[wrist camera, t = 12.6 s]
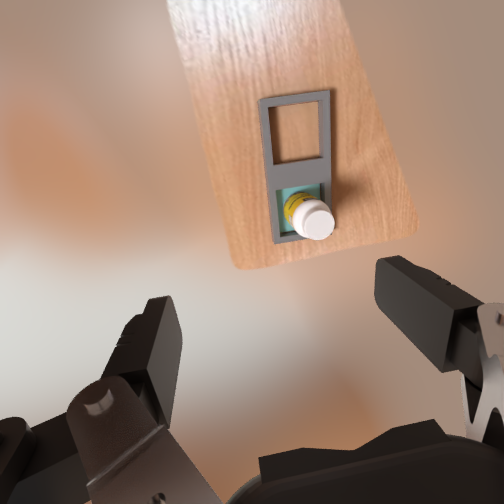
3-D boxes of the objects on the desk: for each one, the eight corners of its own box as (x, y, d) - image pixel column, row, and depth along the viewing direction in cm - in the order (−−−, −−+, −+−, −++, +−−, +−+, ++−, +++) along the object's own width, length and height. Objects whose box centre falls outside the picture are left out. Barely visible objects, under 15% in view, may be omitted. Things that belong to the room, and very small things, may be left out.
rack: (257, 101, 38) (259, 99, 36) (324, 92, 38) (329, 89, 36) (272, 240, 46) (274, 244, 44) (327, 231, 46) (332, 234, 45)
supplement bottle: (309, 184, 42) (334, 197, 34) (319, 215, 45) (345, 235, 36) (276, 199, 43) (293, 215, 34) (288, 229, 45) (306, 252, 36)
